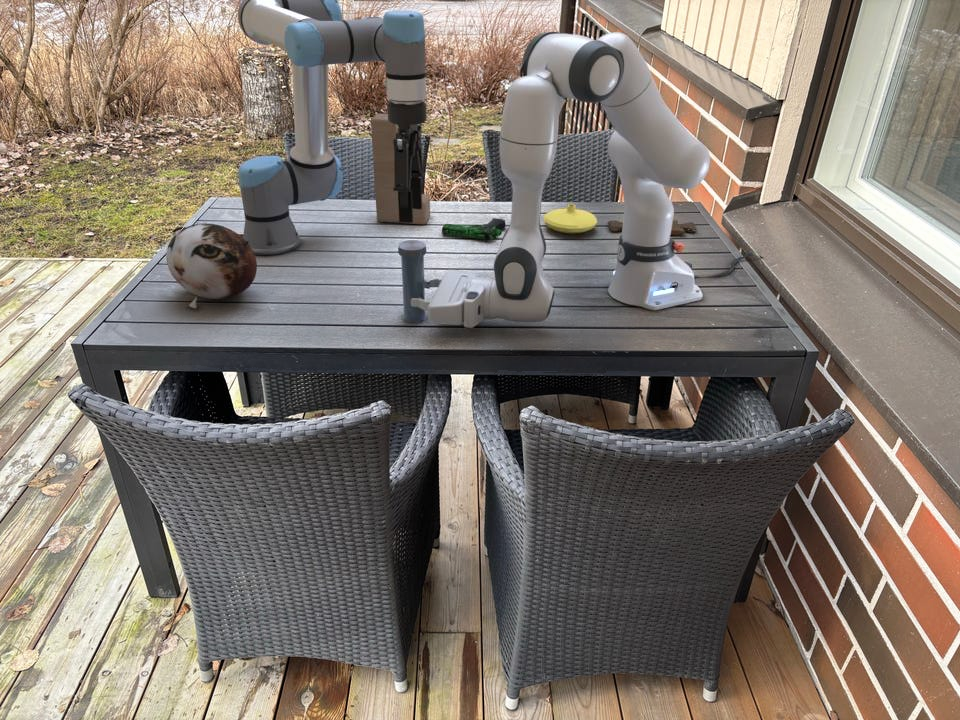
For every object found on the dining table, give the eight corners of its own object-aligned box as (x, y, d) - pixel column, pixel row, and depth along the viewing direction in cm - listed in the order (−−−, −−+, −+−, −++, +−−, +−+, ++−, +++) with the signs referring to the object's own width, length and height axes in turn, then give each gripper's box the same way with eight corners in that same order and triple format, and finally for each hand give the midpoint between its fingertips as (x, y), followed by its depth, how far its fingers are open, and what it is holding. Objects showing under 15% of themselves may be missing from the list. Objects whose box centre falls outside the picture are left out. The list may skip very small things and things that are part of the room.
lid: (399, 259, 150) (399, 251, 149) (397, 248, 155) (396, 240, 154) (427, 257, 151) (427, 249, 150) (424, 247, 156) (423, 239, 155)
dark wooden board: (699, 237, 207) (691, 225, 216) (700, 231, 206) (692, 220, 215) (610, 234, 207) (606, 222, 216) (611, 228, 207) (607, 217, 215)
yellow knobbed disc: (559, 216, 220) (561, 193, 217) (605, 227, 212) (608, 204, 209) (532, 230, 209) (533, 207, 206) (580, 242, 201) (582, 218, 198)
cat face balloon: (130, 285, 161) (164, 203, 163) (192, 308, 177) (221, 233, 178) (195, 307, 151) (229, 220, 152) (254, 330, 166) (285, 250, 168)
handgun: (511, 219, 210) (493, 234, 198) (511, 228, 211) (492, 244, 199) (461, 212, 215) (440, 226, 203) (461, 221, 217) (440, 236, 204)
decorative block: (425, 225, 212) (423, 121, 196) (376, 222, 213) (369, 118, 198) (430, 216, 218) (428, 115, 203) (382, 213, 220) (376, 113, 204)
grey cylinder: (405, 323, 159) (401, 252, 150) (402, 313, 163) (399, 243, 154) (426, 321, 160) (424, 250, 151) (424, 312, 164) (421, 242, 155)
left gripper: (400, 90, 146) (405, 198, 158) (373, 110, 129) (380, 231, 140) (436, 91, 145) (438, 200, 157) (413, 112, 128) (417, 233, 140)
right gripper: (487, 265, 163) (428, 260, 165) (470, 304, 145) (404, 298, 147) (486, 291, 166) (428, 285, 168) (469, 332, 149) (405, 325, 151)
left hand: (410, 214), depth 149 cm, fingers open, 8 cm apart
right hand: (417, 292), depth 158 cm, fingers open, 8 cm apart
